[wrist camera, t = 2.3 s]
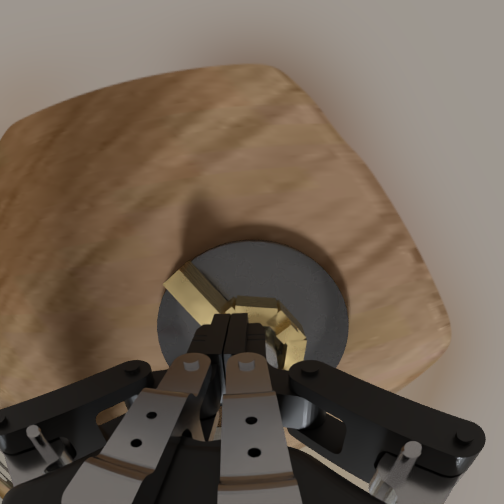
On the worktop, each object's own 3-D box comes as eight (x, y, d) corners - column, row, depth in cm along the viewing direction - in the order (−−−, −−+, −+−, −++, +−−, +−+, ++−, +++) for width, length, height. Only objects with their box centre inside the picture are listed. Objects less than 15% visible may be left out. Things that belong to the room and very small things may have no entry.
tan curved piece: (318, 344, 30) (326, 363, 26) (248, 392, 32) (247, 414, 28) (219, 232, 28) (213, 238, 24) (149, 296, 30) (135, 310, 25)
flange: (244, 425, 35) (243, 461, 28) (127, 319, 32) (102, 345, 25) (375, 336, 32) (398, 364, 25) (263, 196, 29) (266, 195, 22)
